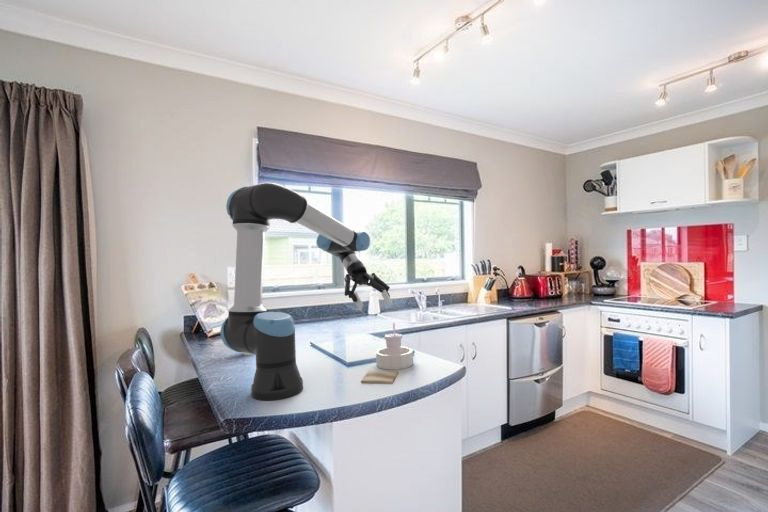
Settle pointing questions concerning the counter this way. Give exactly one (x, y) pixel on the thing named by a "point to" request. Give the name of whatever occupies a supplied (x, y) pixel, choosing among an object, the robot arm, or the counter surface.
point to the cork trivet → (380, 377)
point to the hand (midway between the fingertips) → (376, 305)
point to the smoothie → (393, 342)
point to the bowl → (394, 359)
